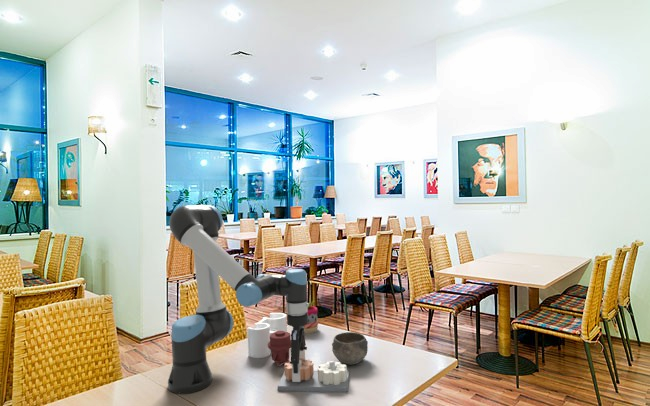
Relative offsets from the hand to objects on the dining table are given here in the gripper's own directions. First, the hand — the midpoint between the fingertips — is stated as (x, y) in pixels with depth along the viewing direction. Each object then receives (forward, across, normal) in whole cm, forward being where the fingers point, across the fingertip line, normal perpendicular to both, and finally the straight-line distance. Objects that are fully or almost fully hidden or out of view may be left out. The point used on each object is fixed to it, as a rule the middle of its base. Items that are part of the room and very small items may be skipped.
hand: (299, 374), depth 145 cm
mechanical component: (+3, +17, +10) cm, 20 cm away
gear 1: (0, 0, 0) cm, 0 cm away
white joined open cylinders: (+3, +34, +19) cm, 39 cm away
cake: (+3, +57, +6) cm, 57 cm away
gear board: (+3, 0, -6) cm, 6 cm away
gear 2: (+1, 0, -12) cm, 12 cm away
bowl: (+3, +19, -18) cm, 26 cm away
